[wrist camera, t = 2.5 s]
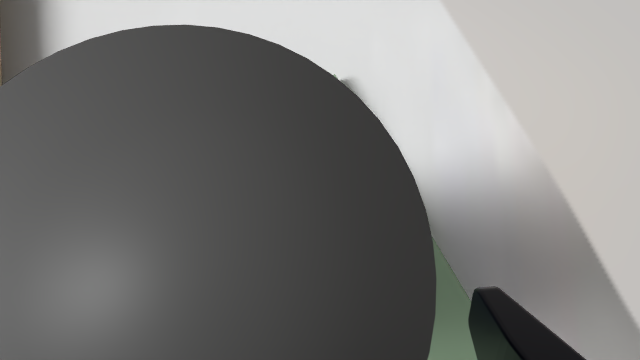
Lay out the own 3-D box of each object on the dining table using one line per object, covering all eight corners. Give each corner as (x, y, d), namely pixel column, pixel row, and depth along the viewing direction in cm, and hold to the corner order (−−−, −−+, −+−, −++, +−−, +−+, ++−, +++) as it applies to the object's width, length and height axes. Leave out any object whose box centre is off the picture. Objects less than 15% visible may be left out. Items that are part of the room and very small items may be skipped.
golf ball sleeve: (369, 311, 17) (543, 385, 4) (239, 386, 16) (-1, 733, 4) (300, 186, 18) (278, -50, 5) (175, 253, 17) (-193, 165, 5)
